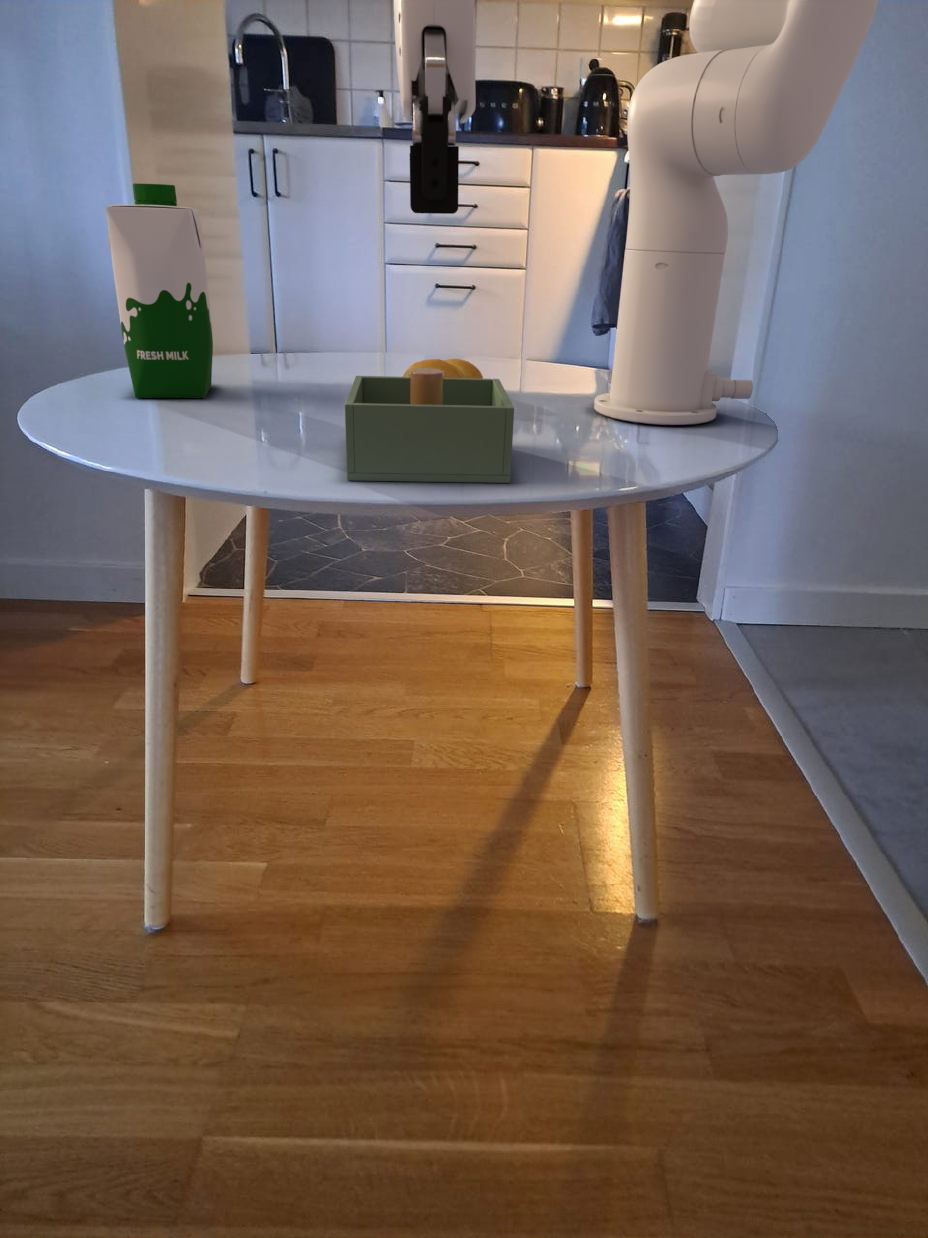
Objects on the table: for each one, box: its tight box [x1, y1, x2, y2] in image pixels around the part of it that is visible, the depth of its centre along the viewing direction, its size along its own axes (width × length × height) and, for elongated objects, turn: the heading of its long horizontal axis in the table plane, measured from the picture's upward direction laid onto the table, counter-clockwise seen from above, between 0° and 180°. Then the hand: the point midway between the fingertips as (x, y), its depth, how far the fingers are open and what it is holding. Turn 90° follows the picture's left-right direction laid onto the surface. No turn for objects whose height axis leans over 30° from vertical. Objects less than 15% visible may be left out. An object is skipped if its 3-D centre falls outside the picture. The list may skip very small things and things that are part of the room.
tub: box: [344, 375, 515, 484], centre depth 67 cm, size 12×12×6 cm
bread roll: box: [402, 358, 484, 379], centre depth 93 cm, size 8×9×4 cm
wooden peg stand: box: [410, 368, 444, 405], centre depth 66 cm, size 8×8×6 cm
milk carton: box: [105, 182, 214, 399], centre depth 86 cm, size 9×9×20 cm
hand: (432, 212), depth 61 cm, fingers open, 9 cm apart
